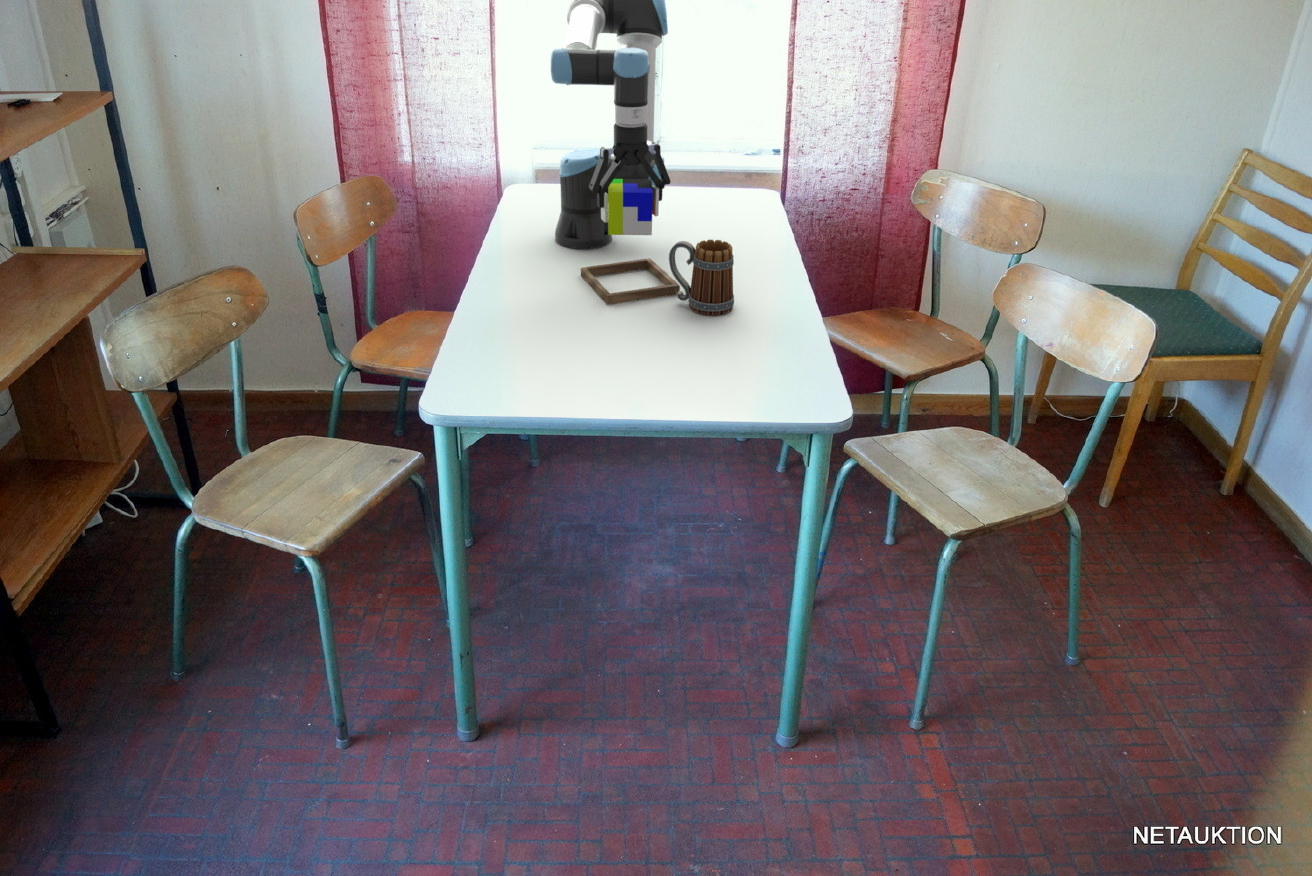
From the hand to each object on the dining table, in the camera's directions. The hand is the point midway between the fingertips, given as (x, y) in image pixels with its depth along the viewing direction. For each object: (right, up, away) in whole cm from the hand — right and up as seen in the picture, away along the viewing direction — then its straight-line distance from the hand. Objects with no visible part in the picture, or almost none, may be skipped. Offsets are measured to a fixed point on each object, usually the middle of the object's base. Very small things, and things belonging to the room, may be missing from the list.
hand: (629, 217), depth 238 cm
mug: (+16, -21, -1) cm, 26 cm away
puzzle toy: (0, -2, +1) cm, 3 cm away
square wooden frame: (0, -14, +9) cm, 17 cm away
